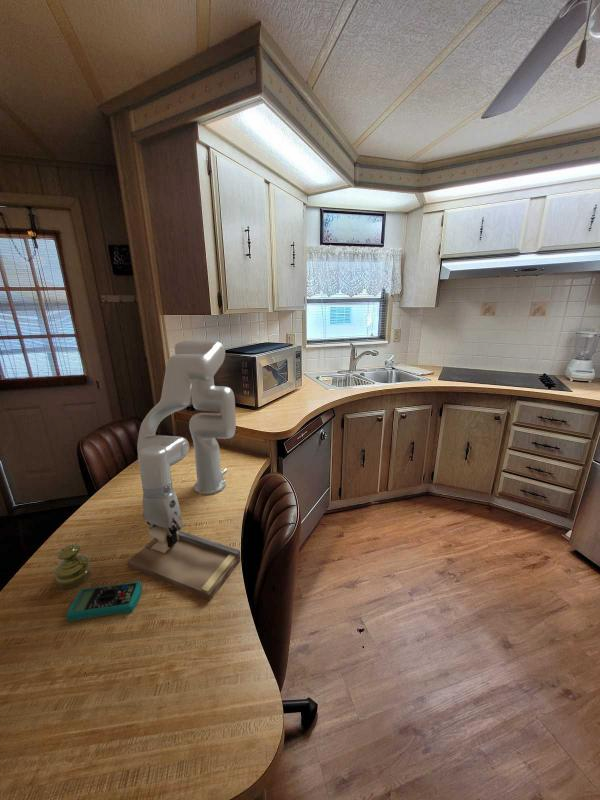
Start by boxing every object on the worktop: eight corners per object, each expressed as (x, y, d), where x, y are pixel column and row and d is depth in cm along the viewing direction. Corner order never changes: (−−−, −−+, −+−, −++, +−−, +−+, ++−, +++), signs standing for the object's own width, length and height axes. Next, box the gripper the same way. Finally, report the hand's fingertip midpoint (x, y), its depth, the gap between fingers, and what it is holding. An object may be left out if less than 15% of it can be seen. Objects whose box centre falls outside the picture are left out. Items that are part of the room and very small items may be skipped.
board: (166, 535, 98) (164, 525, 98) (240, 560, 89) (240, 550, 88) (128, 567, 86) (126, 557, 85) (210, 600, 76) (209, 589, 75)
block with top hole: (166, 535, 95) (164, 518, 94) (179, 539, 94) (177, 522, 92) (142, 555, 87) (140, 538, 86) (156, 560, 85) (153, 542, 84)
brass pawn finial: (62, 572, 84) (54, 542, 81) (94, 564, 87) (87, 534, 84) (54, 594, 78) (45, 562, 75) (88, 584, 80) (81, 553, 78)
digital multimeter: (134, 614, 73) (133, 604, 72) (66, 623, 71) (63, 614, 70) (144, 587, 80) (143, 578, 79) (82, 596, 78) (80, 586, 77)
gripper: (191, 487, 87) (196, 541, 92) (146, 476, 93) (153, 526, 98) (171, 502, 80) (178, 559, 85) (124, 488, 86) (133, 542, 91)
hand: (165, 541), depth 91 cm, fingers closed on block with top hole, 5 cm apart
